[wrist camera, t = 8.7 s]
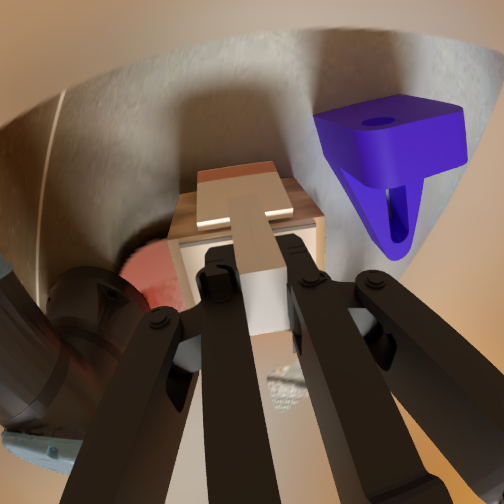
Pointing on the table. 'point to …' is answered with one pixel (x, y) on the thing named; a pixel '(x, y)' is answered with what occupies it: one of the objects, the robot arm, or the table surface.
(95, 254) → the table surface
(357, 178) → the bracket
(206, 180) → the cream and orange panel
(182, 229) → the clamp block
